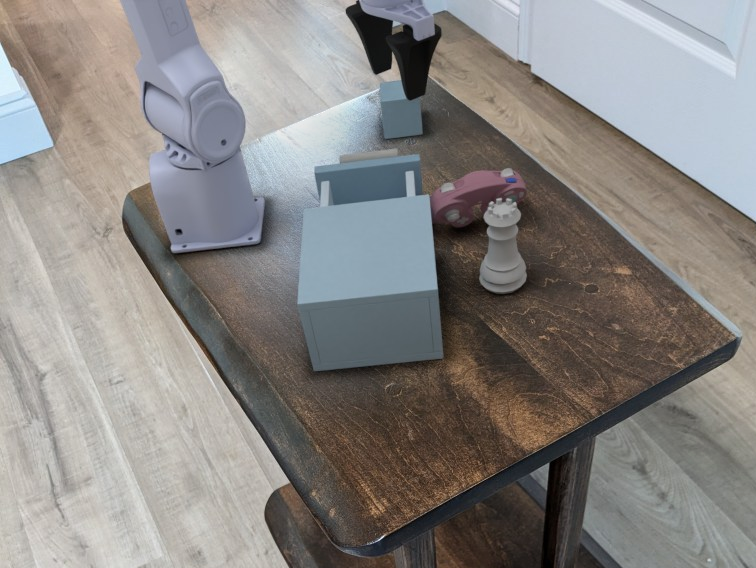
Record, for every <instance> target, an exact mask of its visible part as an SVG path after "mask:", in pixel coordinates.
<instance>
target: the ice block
mask: <svg viewBox="0 0 756 568" xmlns="http://www.w3.org/2000/svg"><path fill="white" fill-rule="evenodd" d="M379 103H380V112H381V119H382V128H383V135H384V139H385V140H388V139H396V138H398V139H399V138H405V137H412V136H421V135H422V136H423V135H424V132H423V122H422V121H423V120H422V109H421V97H418V98H416V99H413V100H411V101H409V100H408V99H407V98H406V96H405V93H404V90H403V86H402V81H401V79H397V80H390V81H383V82H379Z"/></svg>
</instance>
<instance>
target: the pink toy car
mask: <svg viewBox="0 0 756 568" xmlns="http://www.w3.org/2000/svg"><path fill="white" fill-rule="evenodd" d="M527 194H528V191H527V187H526V183H525V181H524V180H523V178H522V176H521V175H520V173H518V171H516V170H514V169H512V168H511V167H506V168H504V169H502V170H485V169H481V170H474V171H471V172H468V173H467V174H465V175H464V176H462V177H460V178H458V179H457V180H455V181H452V182H445V183H444V184H442V185H441V186H440V187H438V188H437V189H436V190H434V191H433V192H432V194H431V195H429V196H430V207H431V218H432V225H433V224H434V225H435V224H439V223H444V224H445V223H447V224H450V225H452V226H453V227H454V228H463V227H466V226H468V225H470V224H471V223H472V222H474V218H475V216H474V213H473V209H472V208H473V207H476V206H479V205H480V206H479V209H480V212H481V215H482V218H483V219H484V214H485V212H486V211H487V210H488V207H489V203H490V202H491V201H493V202H494V204H496V199H498V198H502V202H503V203H506V199H507V198H509V199H512V203H514V202H516V204H517V205H518V204H519V203H521V202H522V201H523V200H524V199H525V198H526V197H527Z"/></svg>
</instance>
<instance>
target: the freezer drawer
mask: <svg viewBox="0 0 756 568" xmlns="http://www.w3.org/2000/svg"><path fill="white" fill-rule="evenodd" d="M338 160H339V163H332V164H324V165H316V166H314V171H313V174H314V179H315V183H316V184H315V185H316V190H317V194H318V200H319V207H324V206H333V205H341V204H350V203H359V202H367V201H376V200H384V199H393V198H402V197H410V196H419V195H424V189H423V176H422V167H421V156H420V153H417V154H408V155H399V149H398V148H389V149H381V150H373V151H372V150H371V151H363V152H356V153H347V154H340V155H339V159H338Z"/></svg>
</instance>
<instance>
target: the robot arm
mask: <svg viewBox="0 0 756 568" xmlns="http://www.w3.org/2000/svg"><path fill="white" fill-rule="evenodd" d="M119 1H120V5H121V7H122V10H123V12H124V15H125V18H126V20H127V23H128V25H129V28H130V31H131V32H132V35H133V38H134V41H135V43H136V45H137V48H138V51H139V53H140V55H141V56H140V58H139V59H138V61H137V62H136V63H135V66H134V72H135V74H136V76H137V79H138V83H139V88H140V95H139V96H140V99H139V104H140V110H141V114H142V116H143V118H144V120H145V121H146V123H147V124H148V125H149V126H150V128H152V129H153V130H155V131H156V132H158V133H159V134H161V137H162V139H163V142H164V149H162V150H159V151H156V152H153V153H151V154H150V156H149V160H148V175H149V181H150V187H151V191H152V194H153V198H154V201H155V203H156V206H157V209H158V211H159V215H160V217H161V220H162V223H163V226H164V228H165V231H166V234H167V237H168V240H169V241H170V244H171V245H170V251H171V253H173V254H181V253H190V252H198V251H199V252H200V251H207V250H214V249H215V250H217V249H223V248H224V249H225V248H231V247H232V248H233V247H242V246H251V245H258V244H259V243H260V242H261V239H262V231H263V223H264V214H265V207H266V206H265V204H266V200H265V198H264V197H262V196H260V197H254V193H253V190H252V185H251V182H250V179H249V174H248V171H247V167H246V163H245V159H244V156H243V152H242V148H241V145H242V143H243V140H244V138H245V134H246V128H247V127H246V126H247V125H246V121H247V120H246V115H245V112H244V109H243V107H242V105H241V104H240V102H239V101H238V100H237V99H236V97H235V96H233V95H232V94H231V92H230V91H229V89H228V87H227V85H226V83H225V80H224V79H225V78H224V77H223V74H222V72H221V71H220V70H219V68H218V66H217V65H216V64H215V62H214V61H213V60H212V58H211V57H210V56H209V54H208V53H207V51H206V50H205V49H204V48H203V46H202V45H201V43H200V39H199V36H198V33H197V30H196V28H195V25H194V24H195V23H194V22H193V17H192V15H191V13H190V8H189V6H188V2H187V0H119ZM345 15H346V16H347V18H348V19H349V21H350V23H351V24H352V25H353V27H354V28H355V31H356V32H357V35H358V37H359V39H360V41H361V44H362V46H363V49H364V52H365V54H366V58H367V60H368V63H369V66H370V68H371V71H372V73H373V74H374V75H375V76H377V75H380V74H383V73H385V72H387V71H390V70H392V65H393V56H394V59H395V61H396V64H397V67H398V71H399V75H400V76H399V77H400V80H401V81H402V86H403V90H404V93H405V96H406V98H407V99H408V100H409V101H411V100H413V99H416V98H418V97H420V98H421V97H424V96H426V92H427V86H428V80H429V74H430V68H431V64H432V60H433V57H434V53H435V50H436V49H437V46H438V44H439V42H440V40H441V38H442V37H443V36H442V35H443V33H442V32H443V31H442V27H441V26H439V25H438V24H436V23H435V17H434V14H433V13H432V12H431V11H429V10H428V7H427V5H426V3H425V2H424V0H355V3H354V4H352V5H348V6H347V7H346V8H345ZM394 22H397V23H400V24H401V25H402V30H400V31H398V32H395V33H393V28H394V27H393V26H394Z"/></svg>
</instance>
